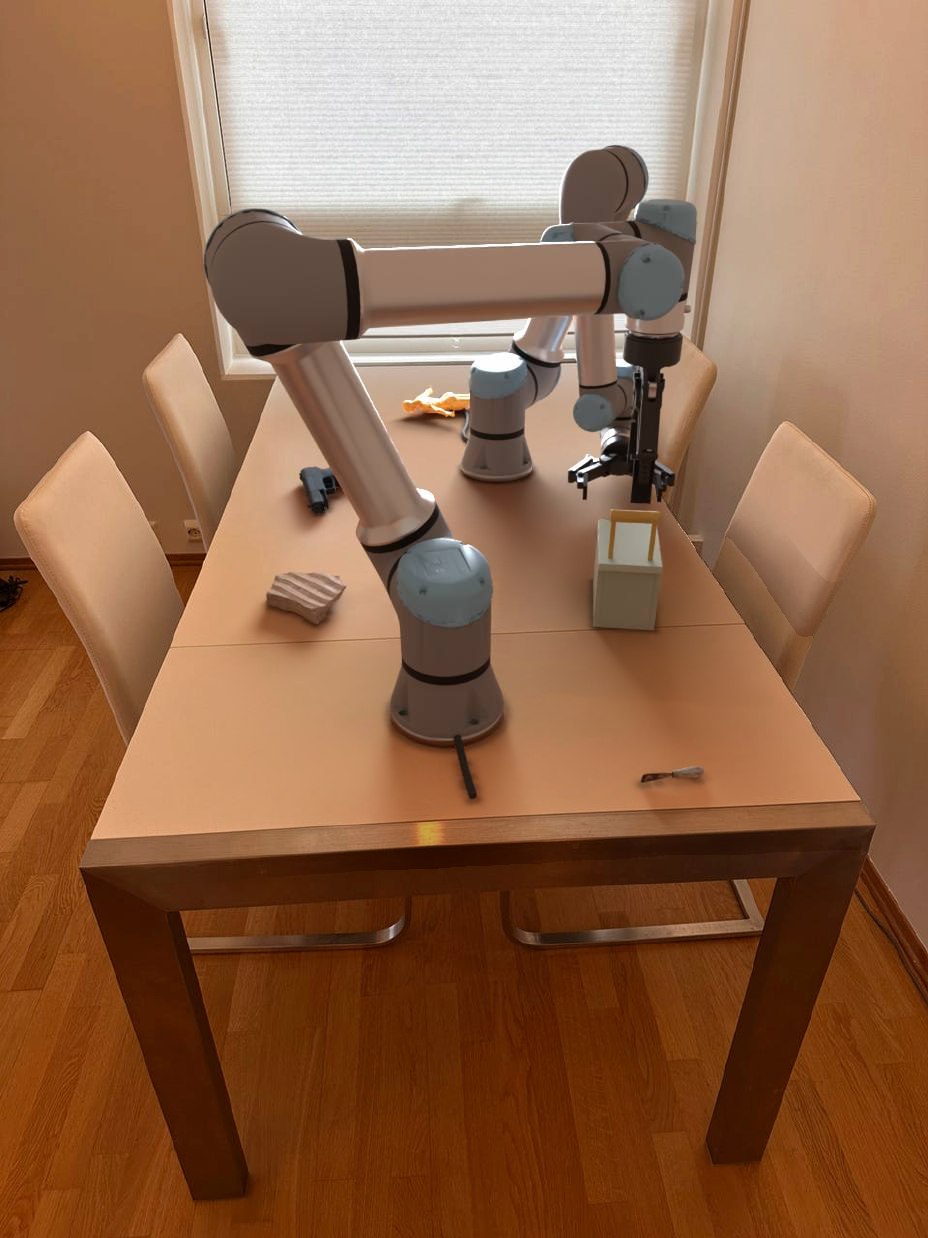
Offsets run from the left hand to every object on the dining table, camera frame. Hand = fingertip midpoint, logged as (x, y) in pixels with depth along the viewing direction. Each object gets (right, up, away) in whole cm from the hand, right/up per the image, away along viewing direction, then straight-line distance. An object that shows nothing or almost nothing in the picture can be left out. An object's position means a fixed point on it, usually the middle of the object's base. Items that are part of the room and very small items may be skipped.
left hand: (638, 483), depth 127 cm
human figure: (-28, +33, +99) cm, 108 cm away
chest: (+1, -17, +17) cm, 24 cm away
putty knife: (+1, -39, -18) cm, 43 cm away
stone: (-51, -17, +18) cm, 56 cm away
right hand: (+4, +4, +37) cm, 37 cm away
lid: (+1, -8, +12) cm, 14 cm away
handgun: (-52, +6, +55) cm, 76 cm away
